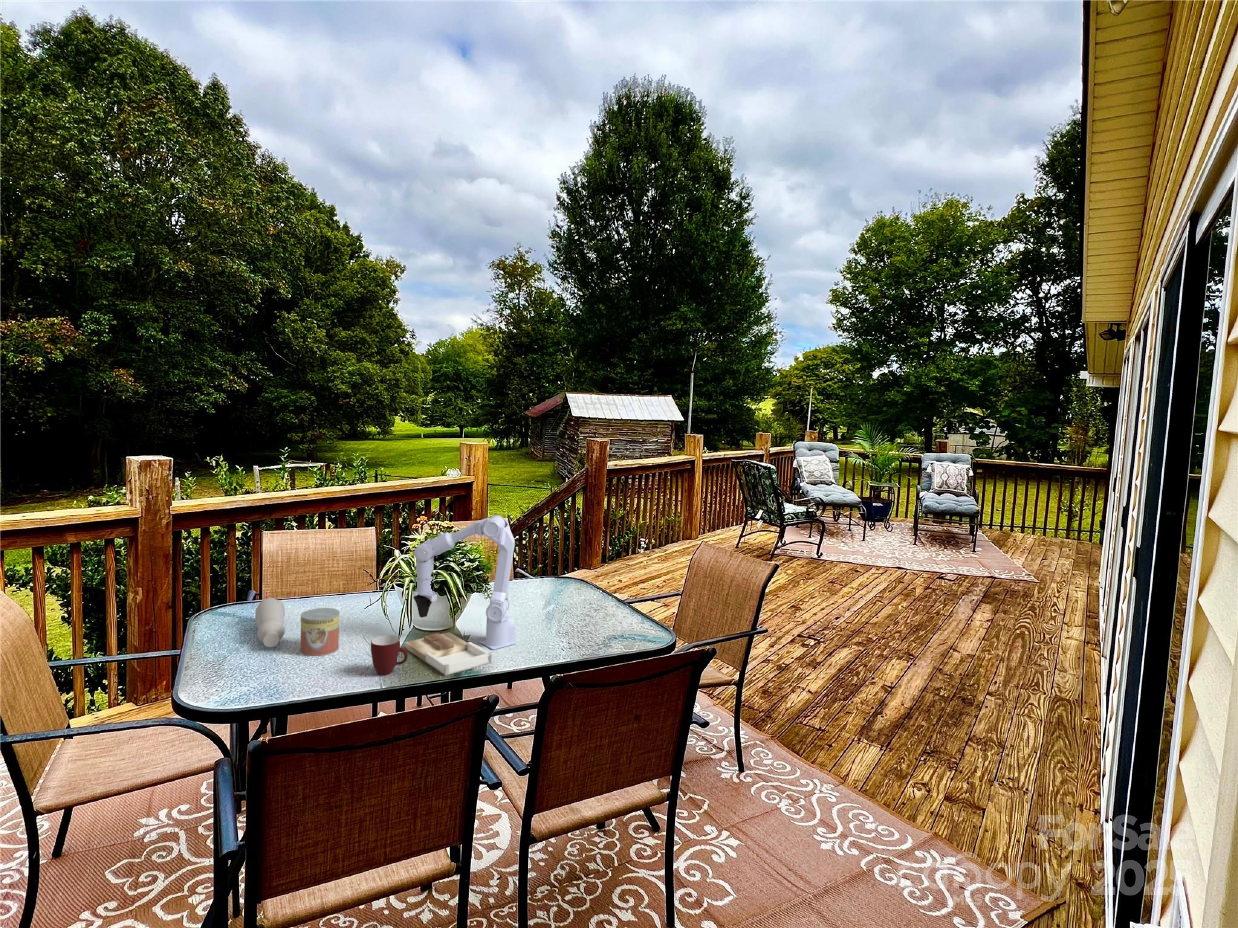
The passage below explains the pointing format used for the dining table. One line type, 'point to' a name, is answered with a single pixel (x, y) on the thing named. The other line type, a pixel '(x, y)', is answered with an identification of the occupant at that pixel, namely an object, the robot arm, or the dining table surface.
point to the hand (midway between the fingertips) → (423, 616)
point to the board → (422, 647)
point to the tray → (460, 660)
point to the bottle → (270, 621)
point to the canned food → (319, 632)
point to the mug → (386, 653)
